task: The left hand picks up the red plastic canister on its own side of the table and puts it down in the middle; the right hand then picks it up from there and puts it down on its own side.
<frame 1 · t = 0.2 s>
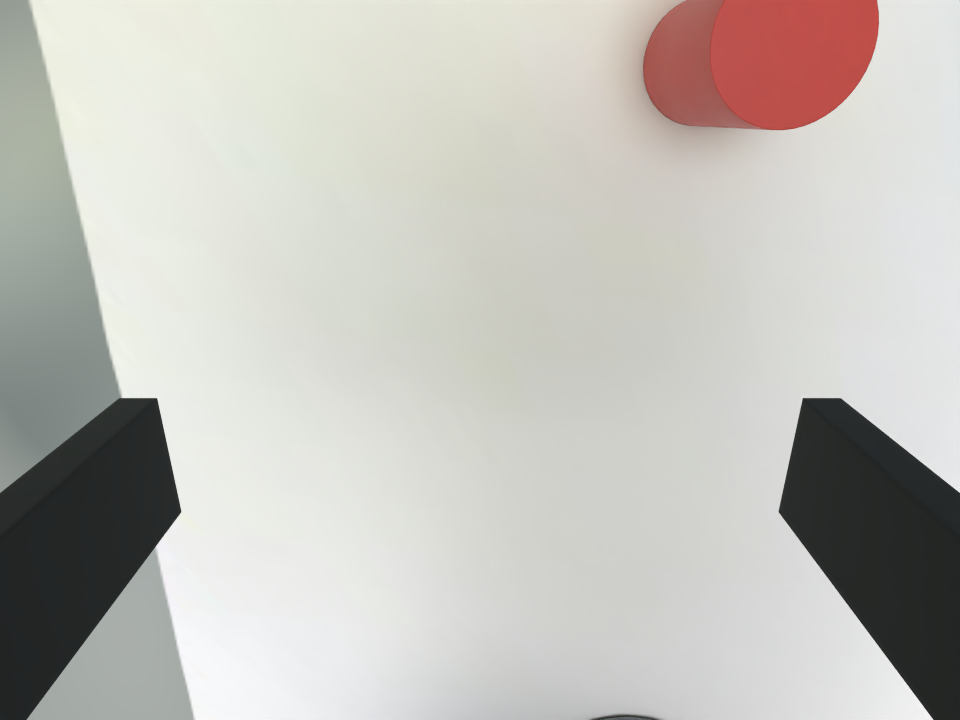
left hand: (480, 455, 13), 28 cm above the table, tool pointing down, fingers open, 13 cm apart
canister: (702, 62, 35), on the table
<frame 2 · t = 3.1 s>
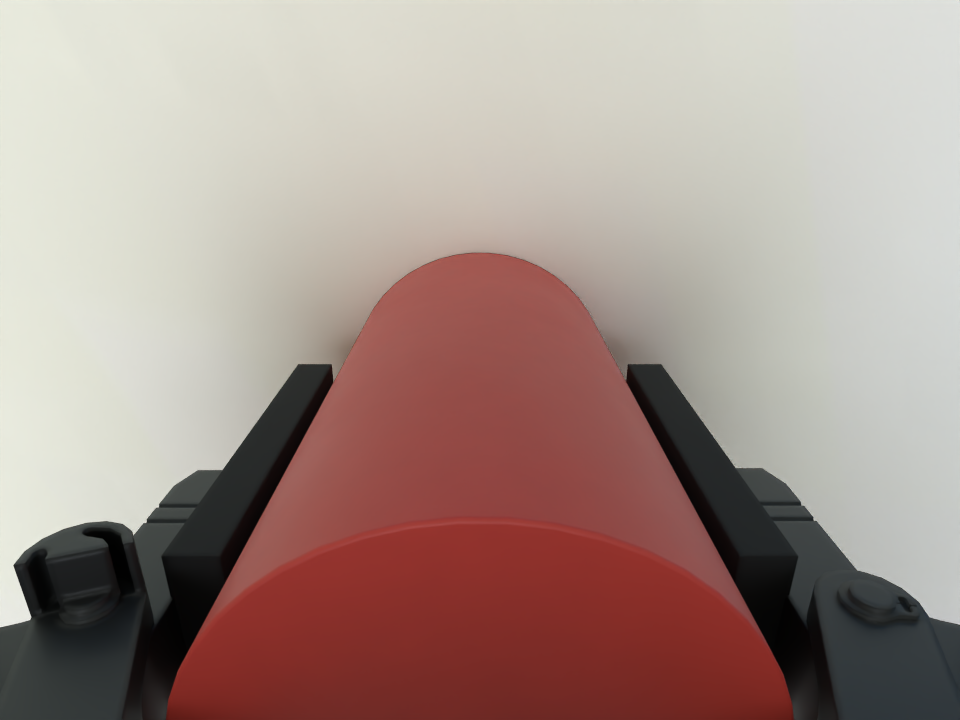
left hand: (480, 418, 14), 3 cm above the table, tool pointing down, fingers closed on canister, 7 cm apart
canister: (479, 374, 17), on the table, touching left hand
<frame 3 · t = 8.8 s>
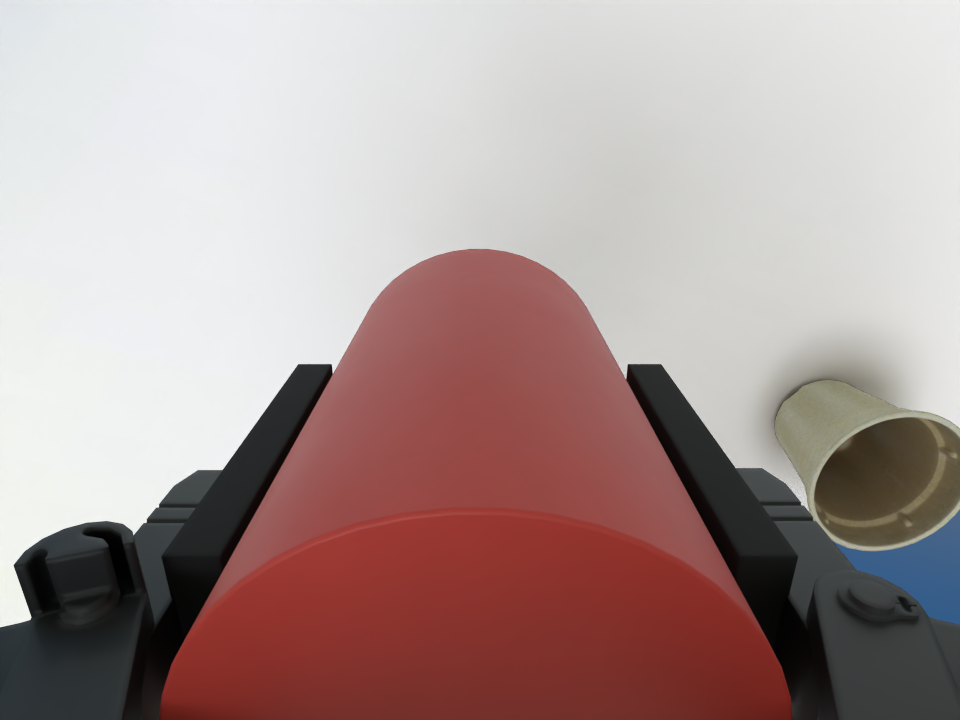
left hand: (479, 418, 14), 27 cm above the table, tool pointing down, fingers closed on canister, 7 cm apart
canister: (478, 371, 17), point 24 cm above the table, touching left hand
flower pot: (815, 416, 44), on the table
when the left hand's fingers open (4 cm above the table, at t = 14.9 s): canister drops 2 cm, on the table.
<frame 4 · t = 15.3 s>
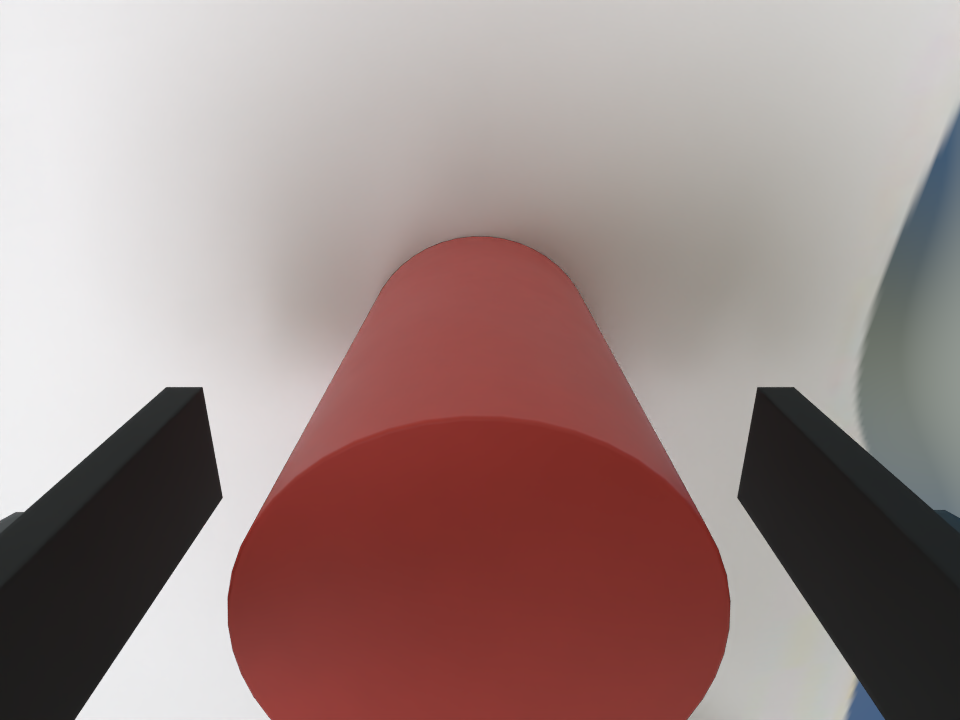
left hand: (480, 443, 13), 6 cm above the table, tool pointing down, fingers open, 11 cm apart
canister: (479, 348, 19), on the table
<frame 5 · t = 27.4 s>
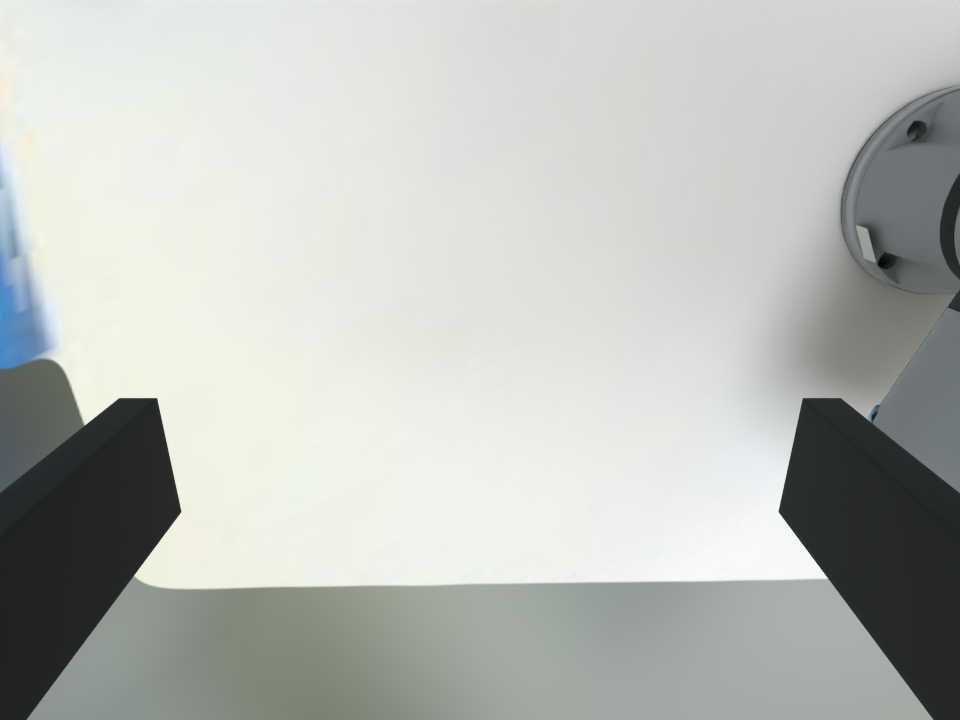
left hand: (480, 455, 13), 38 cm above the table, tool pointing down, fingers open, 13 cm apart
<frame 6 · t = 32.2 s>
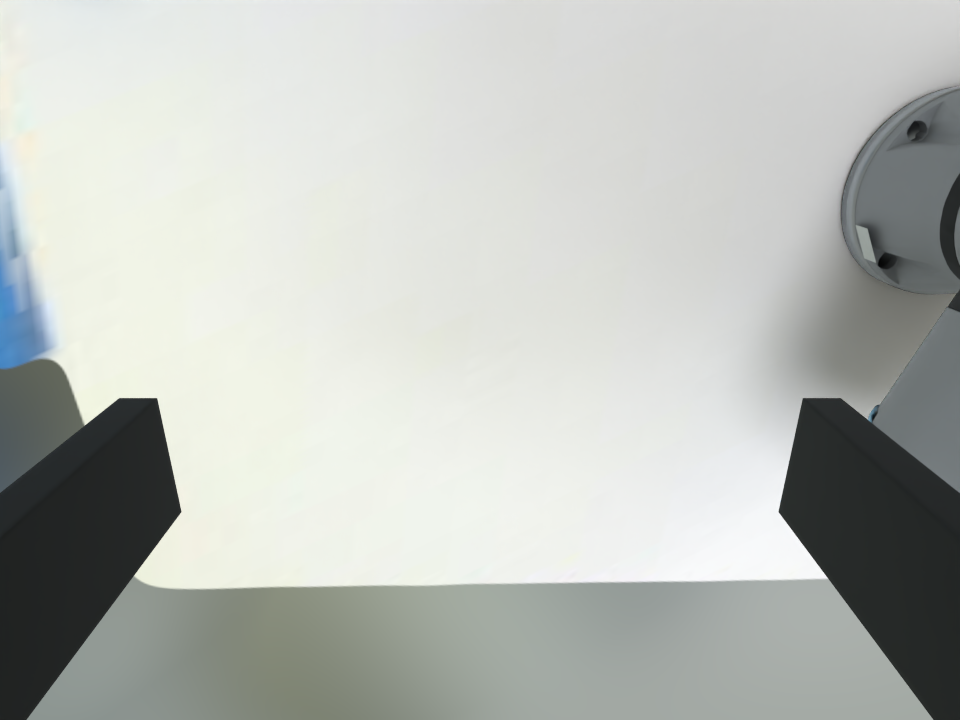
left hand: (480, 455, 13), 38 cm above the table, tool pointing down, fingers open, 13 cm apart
when the right hand's fingers open (4 cm above the table, at t = 36.9 s): canister drops 2 cm, on the table.
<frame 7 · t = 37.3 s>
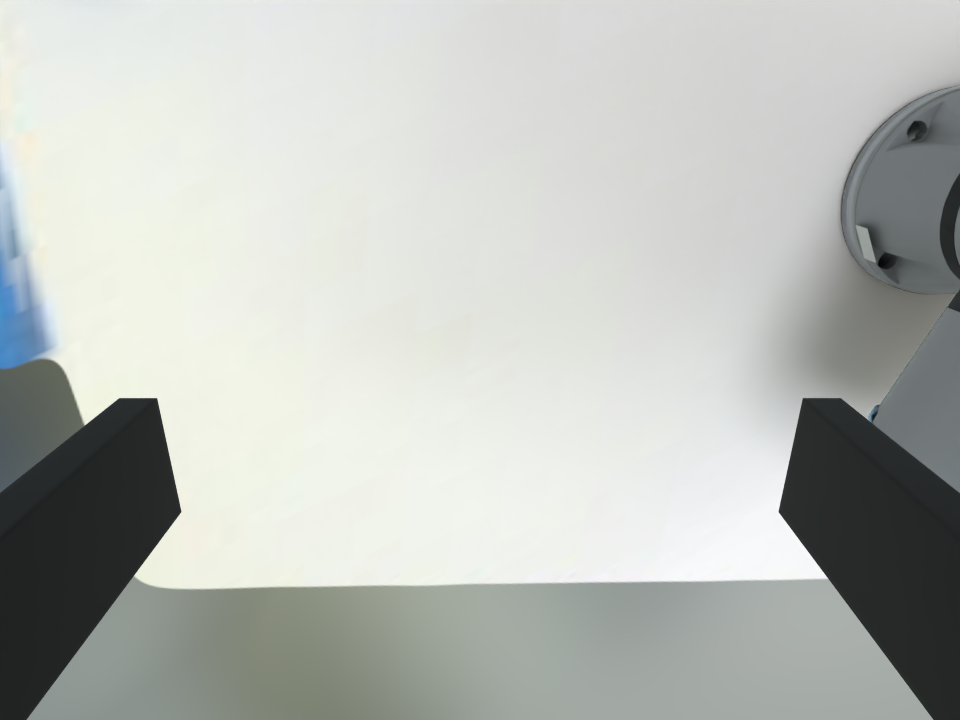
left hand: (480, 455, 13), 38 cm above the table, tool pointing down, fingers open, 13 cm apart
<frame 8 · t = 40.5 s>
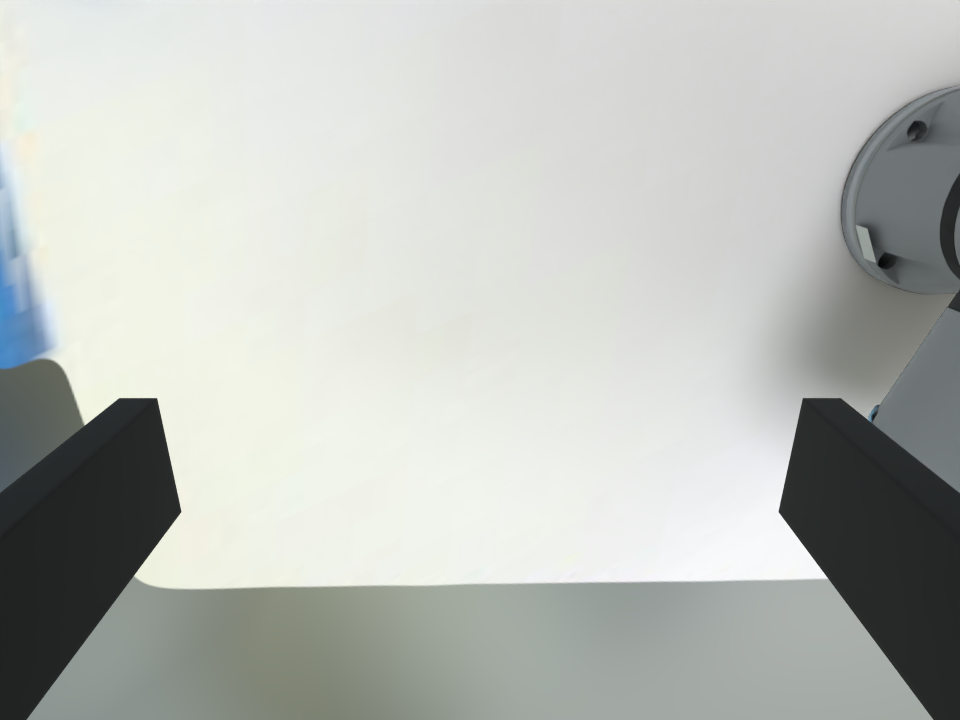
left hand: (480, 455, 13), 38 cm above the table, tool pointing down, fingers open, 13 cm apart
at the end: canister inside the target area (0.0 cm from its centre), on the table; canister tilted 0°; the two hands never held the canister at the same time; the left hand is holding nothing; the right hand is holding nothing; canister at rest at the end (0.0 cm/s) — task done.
